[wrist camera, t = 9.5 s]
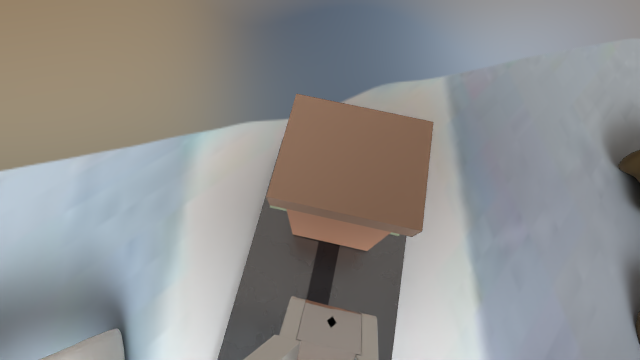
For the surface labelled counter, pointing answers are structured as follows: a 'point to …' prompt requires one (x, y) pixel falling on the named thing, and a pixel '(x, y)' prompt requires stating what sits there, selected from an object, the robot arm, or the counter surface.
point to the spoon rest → (94, 348)
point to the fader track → (311, 283)
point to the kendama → (636, 166)
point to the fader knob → (351, 173)
